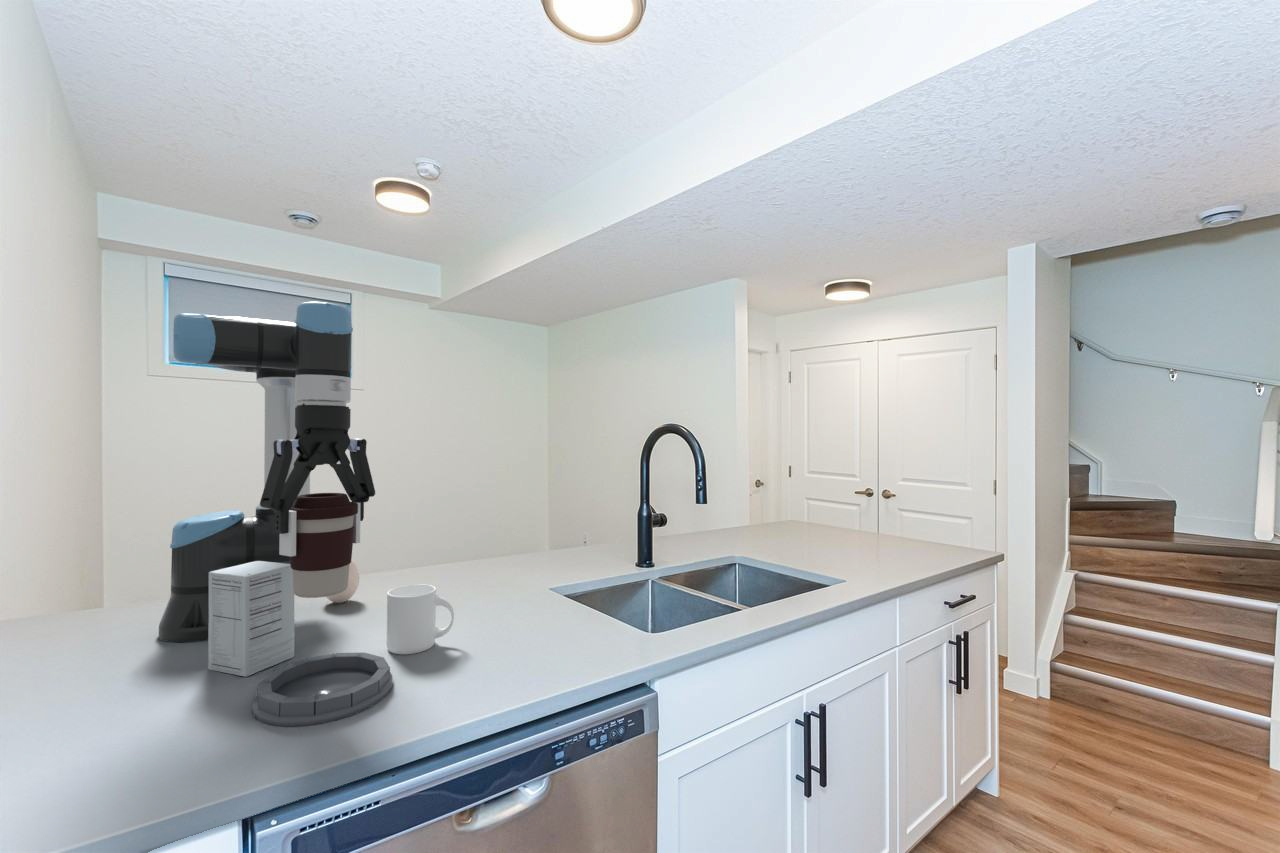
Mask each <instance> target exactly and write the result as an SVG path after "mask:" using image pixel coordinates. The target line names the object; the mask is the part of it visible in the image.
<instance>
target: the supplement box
mask: <svg viewBox="0 0 1280 853" xmlns="http://www.w3.org/2000/svg"><path fill="white" fill-rule="evenodd" d="M207 640H208V644H207V646H208V651H207V655H208V657H207V662H208V663H207V664H208V665H207V667H208V670H210V671H214V672H221V673H225V674H229V675H235V676H241V677H245V678H246V677H249V676H251V675H253V674H256V673H259V672H261V671H264V670H266V669H268V668H272V666H276V665H278V664H281V663H282V662H283V663H284V662H285V661H287V660H290V659H293V658H294V657H295V594H294V586H293V571H292V568H291V566H290V564H285V563H275V562H266V561H254V562H249V563H245V564H241V565H237V566H233V567H228V568H224V569H219V570H215V571H211V572H209V626H208V639H207Z"/></svg>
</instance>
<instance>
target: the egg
mask: <svg viewBox="0 0 1280 853" xmlns="http://www.w3.org/2000/svg"><path fill="white" fill-rule="evenodd" d="M359 585H360V572H359V568H358V565H357V564H356V561H355V560H354V559H353V558H352V559H351V563H350V564H349V576H348V586H347V589H346V590H345V591H343V592H341V593H338V594H335V595H331V596H326V597H325V598H326V599H328V600H329V601H331V603H336V604H341V603H345V602H346V601H348V600H350V599H351V598H352V597H353V596H354V595H355V593H356V592H357V590H358V587H359Z"/></svg>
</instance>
